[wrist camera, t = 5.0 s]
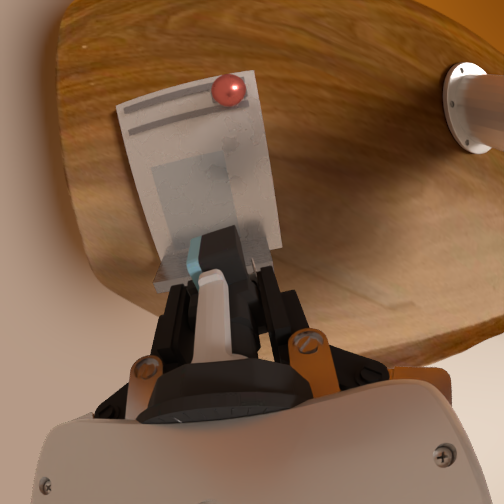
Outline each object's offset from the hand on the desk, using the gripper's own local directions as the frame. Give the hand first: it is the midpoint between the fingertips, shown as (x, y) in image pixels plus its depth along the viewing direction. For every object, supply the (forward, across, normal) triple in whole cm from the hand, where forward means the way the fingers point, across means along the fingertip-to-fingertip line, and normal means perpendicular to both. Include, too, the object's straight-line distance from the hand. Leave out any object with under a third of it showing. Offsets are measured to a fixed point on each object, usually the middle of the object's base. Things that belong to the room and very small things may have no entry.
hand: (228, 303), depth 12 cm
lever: (+15, -2, -10) cm, 18 cm away
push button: (+2, 0, 0) cm, 2 cm away
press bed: (+17, +2, -3) cm, 17 cm away
